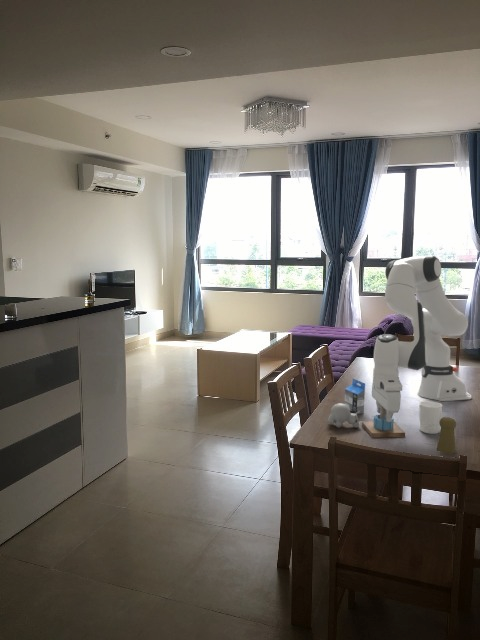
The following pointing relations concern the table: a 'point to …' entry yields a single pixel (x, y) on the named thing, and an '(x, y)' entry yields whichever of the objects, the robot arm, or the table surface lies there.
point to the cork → (447, 436)
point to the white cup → (430, 416)
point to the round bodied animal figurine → (343, 416)
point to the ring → (382, 423)
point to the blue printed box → (355, 397)
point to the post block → (383, 433)
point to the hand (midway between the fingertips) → (384, 416)
